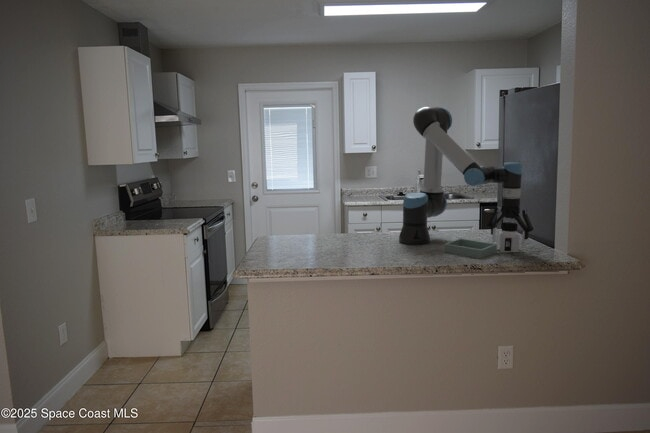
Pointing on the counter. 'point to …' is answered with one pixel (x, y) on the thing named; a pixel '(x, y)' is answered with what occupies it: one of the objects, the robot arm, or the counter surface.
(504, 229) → the container
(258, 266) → the counter surface
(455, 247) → the box
